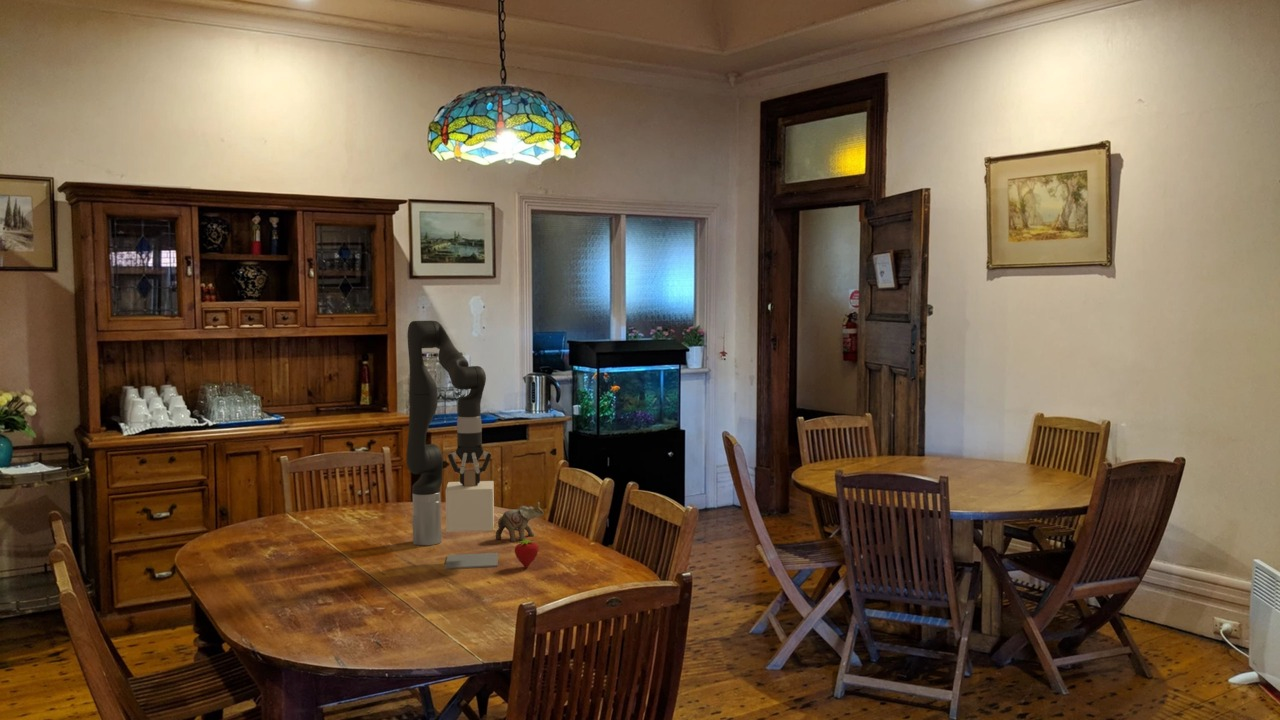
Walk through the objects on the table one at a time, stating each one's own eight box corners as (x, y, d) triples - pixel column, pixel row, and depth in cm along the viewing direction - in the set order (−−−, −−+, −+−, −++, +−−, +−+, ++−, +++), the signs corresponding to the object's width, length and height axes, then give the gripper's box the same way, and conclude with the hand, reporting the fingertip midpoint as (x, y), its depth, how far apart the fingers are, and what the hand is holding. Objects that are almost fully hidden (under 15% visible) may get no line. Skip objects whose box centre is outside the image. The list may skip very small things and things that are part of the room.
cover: (446, 532, 290) (445, 473, 289) (449, 522, 302) (448, 466, 301) (493, 530, 292) (492, 472, 291) (494, 520, 304) (493, 465, 303)
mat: (444, 569, 290) (444, 567, 290) (447, 556, 304) (447, 555, 304) (497, 566, 292) (497, 564, 292) (498, 554, 306) (498, 552, 306)
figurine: (533, 551, 321) (542, 510, 319) (492, 542, 321) (501, 500, 319) (537, 542, 331) (546, 502, 328) (497, 533, 331) (506, 492, 328)
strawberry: (541, 568, 290) (541, 535, 289) (517, 571, 287) (517, 538, 286) (535, 563, 296) (535, 531, 295) (512, 566, 292) (511, 534, 292)
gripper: (445, 432, 290) (446, 488, 292) (492, 431, 292) (492, 486, 293) (447, 429, 298) (448, 483, 299) (492, 428, 300) (493, 482, 301)
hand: (470, 484), depth 296 cm, fingers closed on cover, 3 cm apart
